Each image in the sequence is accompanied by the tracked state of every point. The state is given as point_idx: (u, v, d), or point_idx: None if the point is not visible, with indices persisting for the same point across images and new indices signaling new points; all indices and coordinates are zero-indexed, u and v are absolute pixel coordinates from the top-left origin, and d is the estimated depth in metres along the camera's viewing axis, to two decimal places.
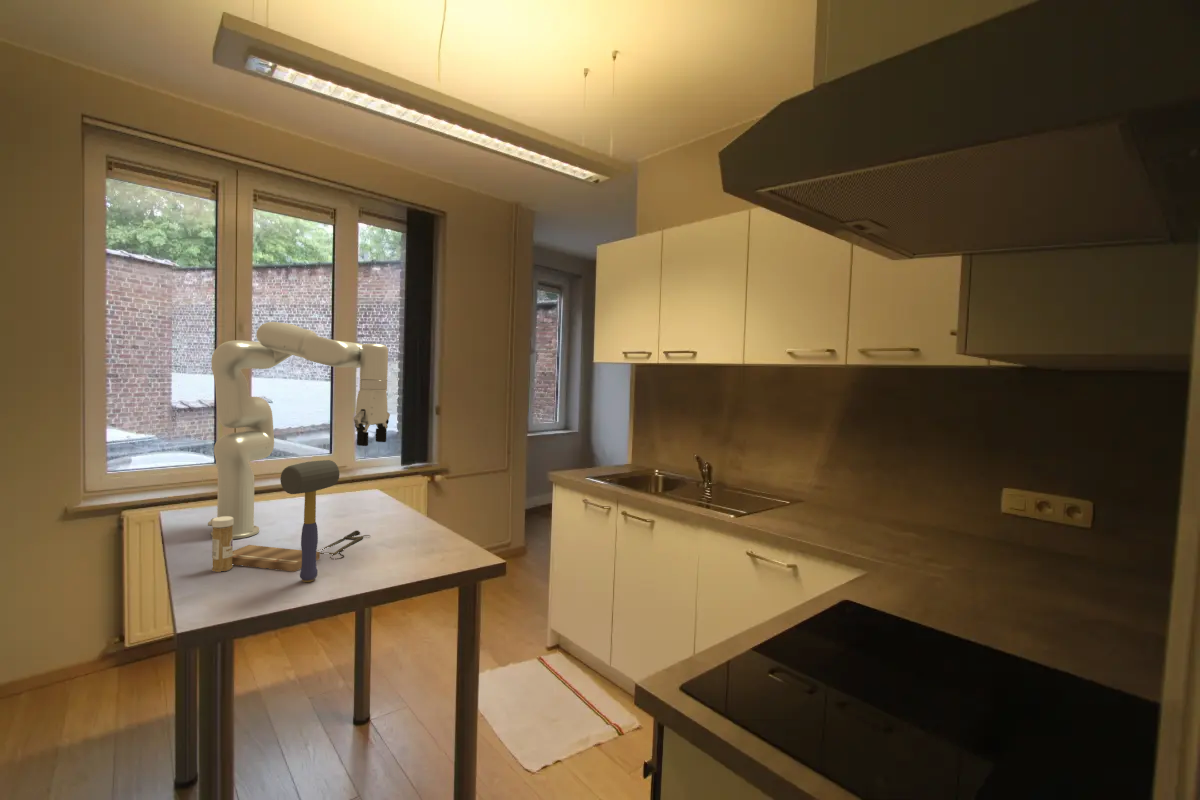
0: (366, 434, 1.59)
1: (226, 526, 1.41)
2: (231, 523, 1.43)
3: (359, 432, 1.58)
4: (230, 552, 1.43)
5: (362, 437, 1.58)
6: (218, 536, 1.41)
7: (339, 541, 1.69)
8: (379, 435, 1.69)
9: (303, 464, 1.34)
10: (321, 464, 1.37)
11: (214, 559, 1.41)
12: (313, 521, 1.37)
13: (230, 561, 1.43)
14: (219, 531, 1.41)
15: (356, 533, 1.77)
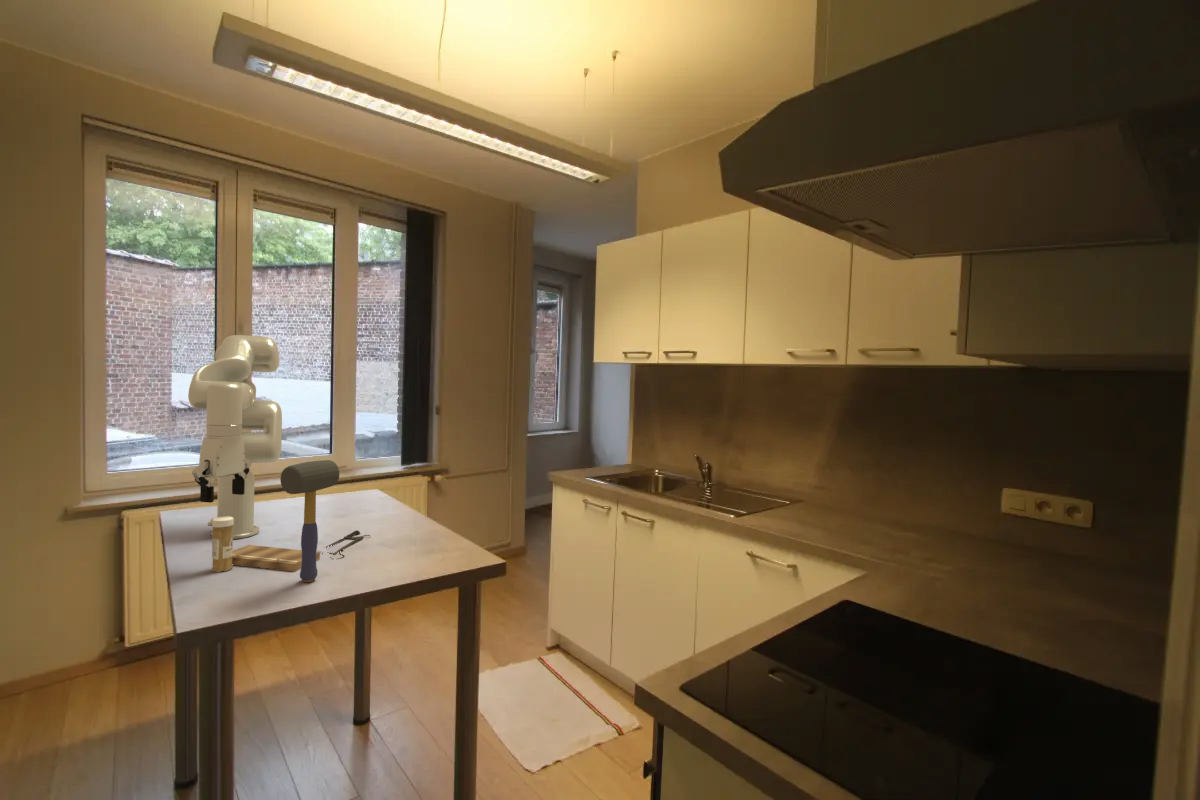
0: (211, 489, 1.37)
1: (226, 526, 1.41)
2: (231, 523, 1.43)
3: (202, 487, 1.36)
4: (230, 552, 1.43)
5: (205, 492, 1.36)
6: (218, 536, 1.41)
7: (339, 541, 1.69)
8: (236, 487, 1.47)
9: (303, 464, 1.34)
10: (321, 464, 1.37)
11: (214, 559, 1.41)
12: (313, 521, 1.37)
13: (230, 561, 1.43)
14: (219, 531, 1.41)
15: (356, 533, 1.77)
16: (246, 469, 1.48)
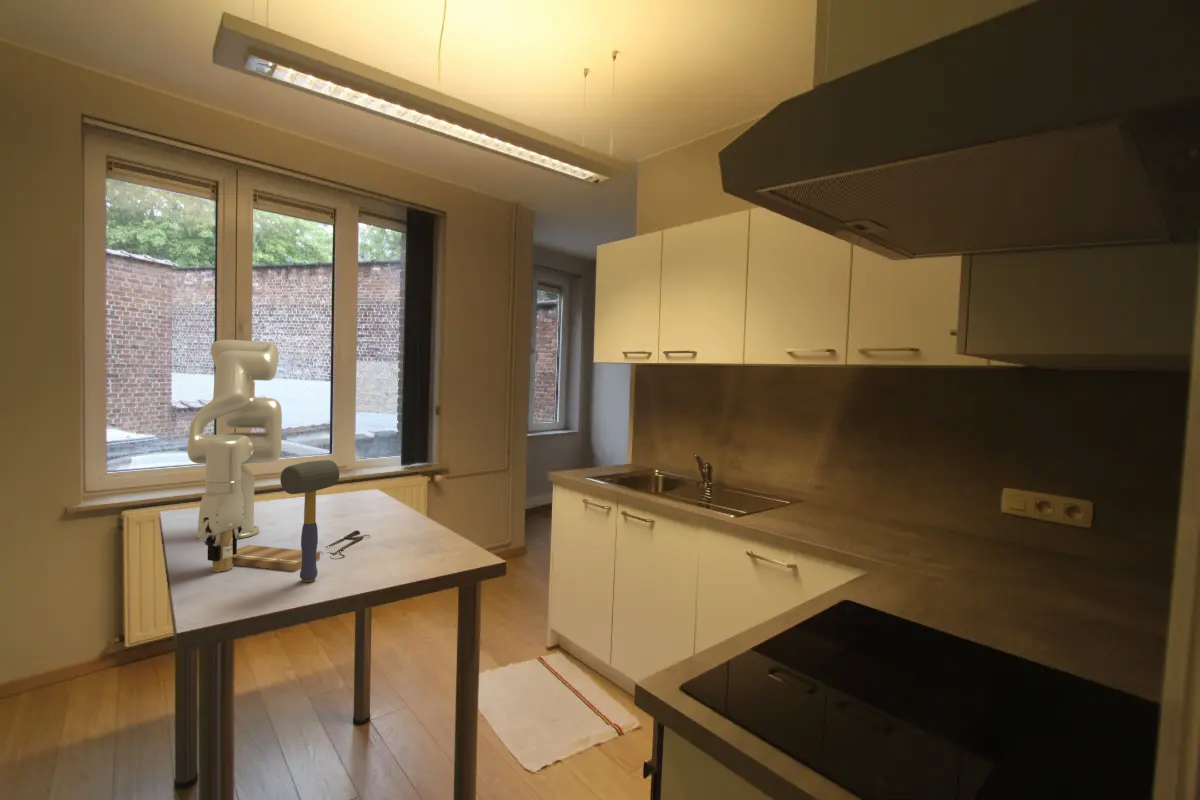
0: (218, 548, 1.40)
1: None
2: (231, 523, 1.43)
3: (209, 546, 1.40)
4: (230, 552, 1.43)
5: (212, 552, 1.40)
6: None
7: (339, 541, 1.69)
8: None
9: (303, 464, 1.34)
10: (320, 464, 1.37)
11: None
12: (313, 521, 1.37)
13: (230, 561, 1.43)
14: None
15: (356, 533, 1.77)
16: (239, 527, 1.47)
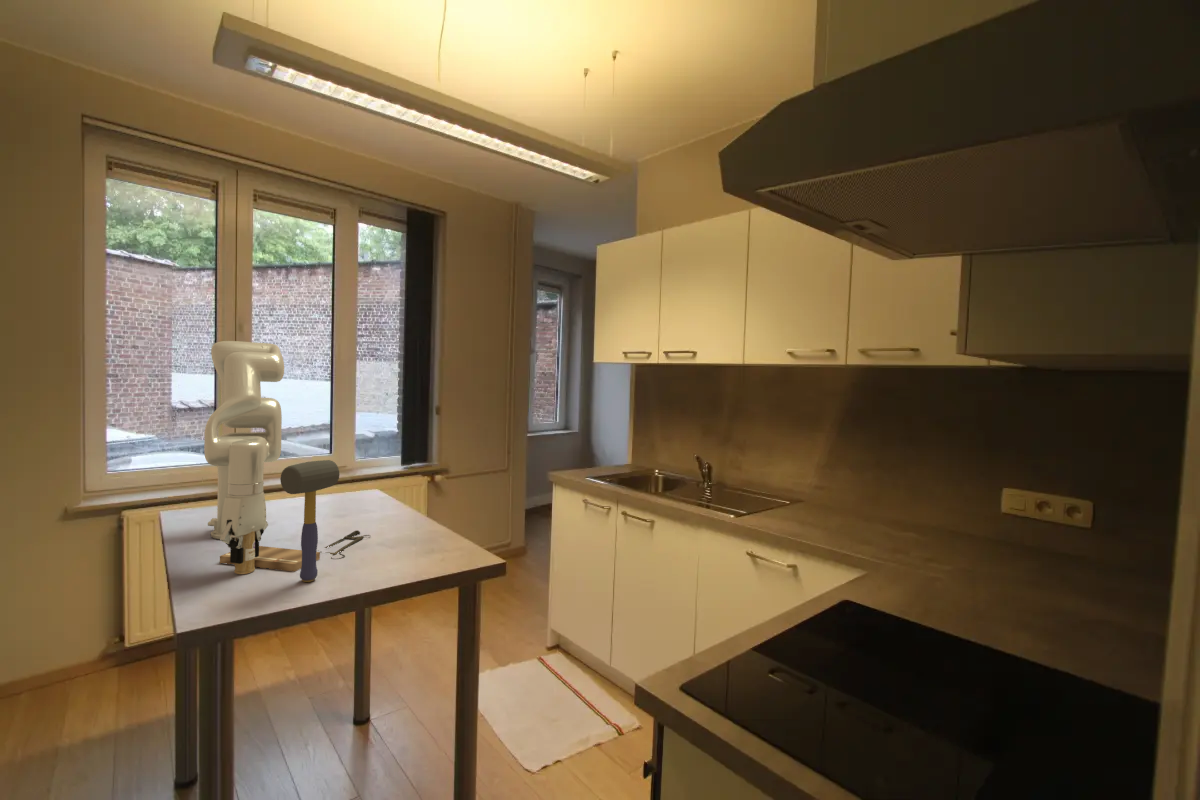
0: (241, 551, 1.39)
1: None
2: None
3: (232, 548, 1.39)
4: (252, 554, 1.42)
5: (235, 554, 1.39)
6: None
7: (339, 541, 1.69)
8: None
9: (303, 464, 1.34)
10: (321, 464, 1.37)
11: None
12: (313, 521, 1.37)
13: (252, 563, 1.42)
14: None
15: (356, 533, 1.77)
16: (261, 529, 1.46)
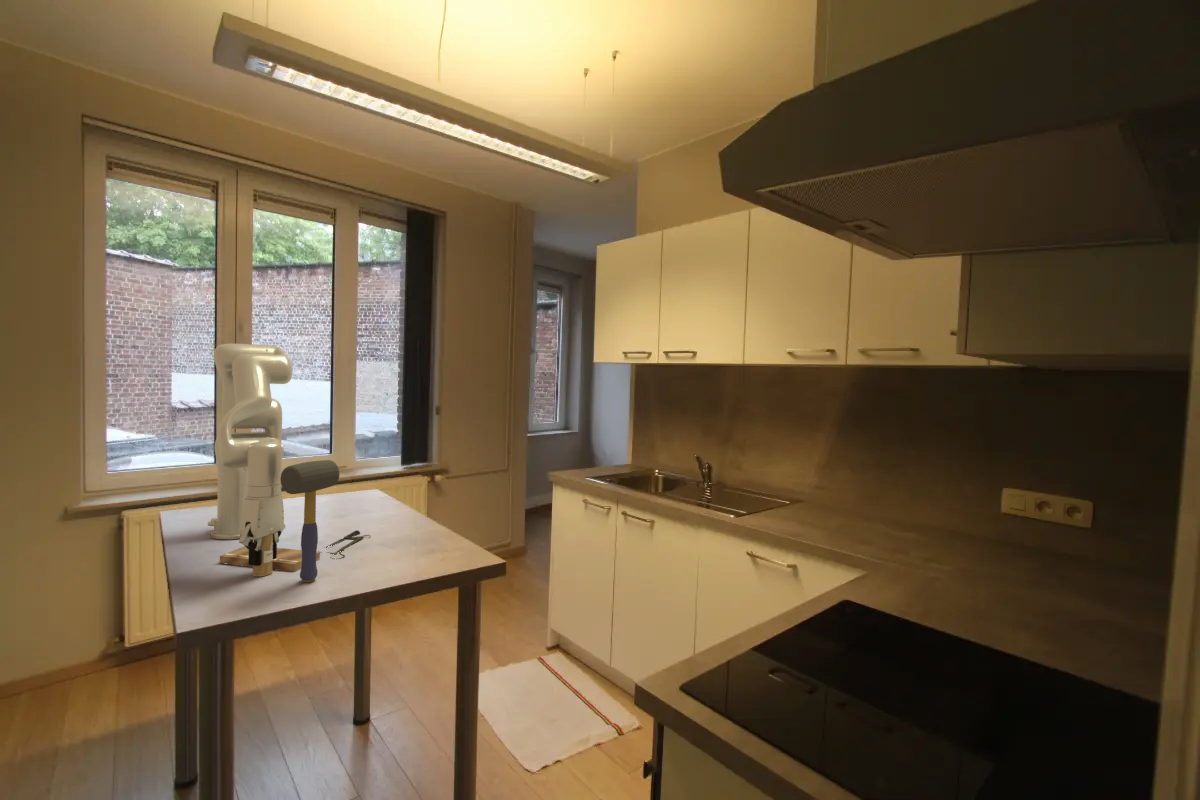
0: (259, 553, 1.38)
1: None
2: None
3: (250, 550, 1.38)
4: (271, 556, 1.41)
5: (254, 556, 1.38)
6: None
7: (339, 541, 1.69)
8: None
9: (303, 464, 1.34)
10: (320, 464, 1.37)
11: None
12: (313, 521, 1.37)
13: (270, 565, 1.42)
14: None
15: (356, 533, 1.77)
16: (278, 531, 1.46)
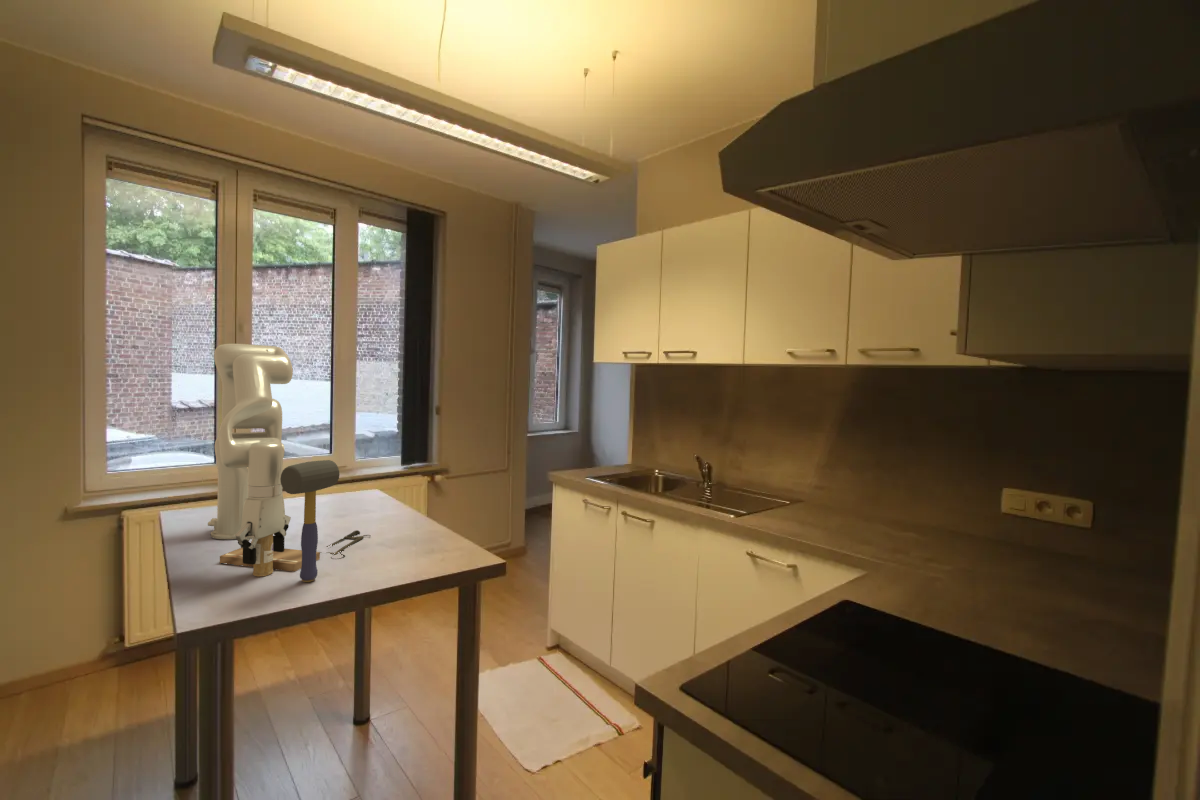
0: (253, 551, 1.36)
1: None
2: None
3: (244, 549, 1.35)
4: (271, 556, 1.41)
5: (248, 555, 1.35)
6: (259, 540, 1.39)
7: (339, 541, 1.69)
8: (276, 544, 1.46)
9: (303, 464, 1.34)
10: (320, 464, 1.37)
11: (255, 563, 1.39)
12: (313, 521, 1.37)
13: (271, 565, 1.42)
14: None
15: (356, 533, 1.77)
16: (285, 525, 1.48)
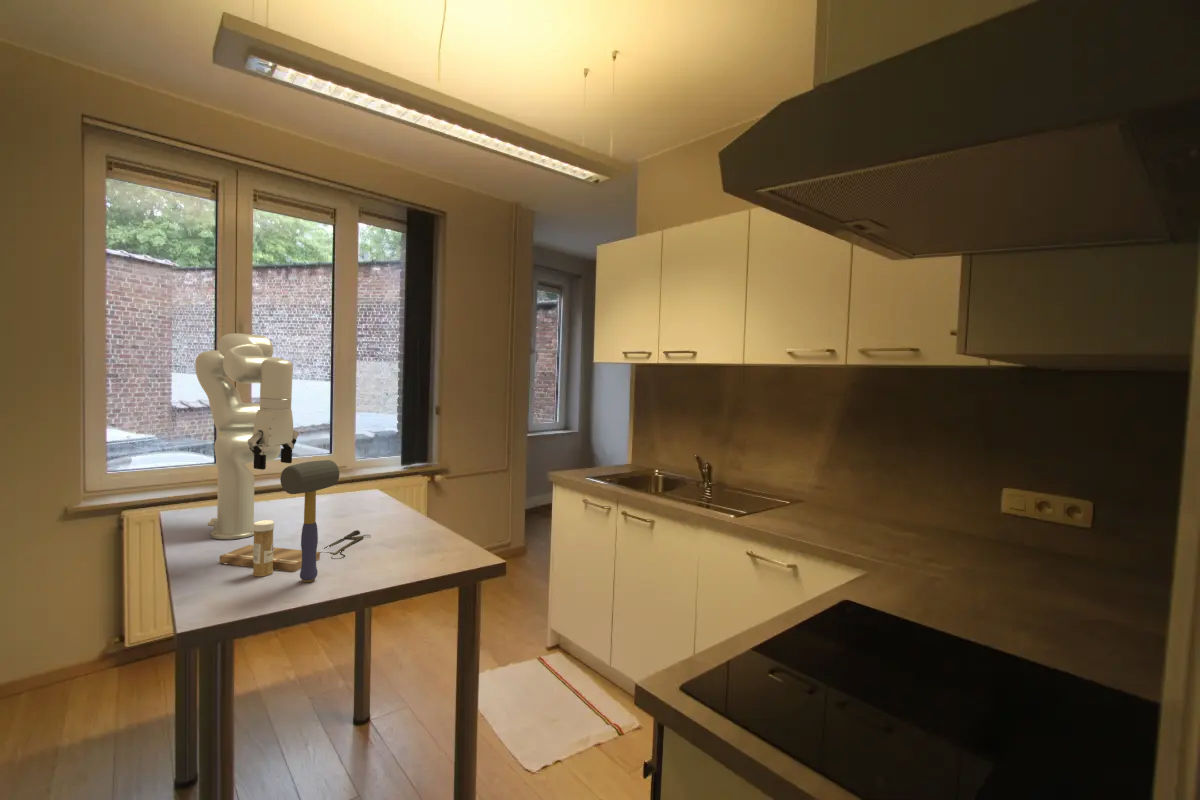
0: (263, 457, 1.48)
1: (267, 530, 1.40)
2: (272, 527, 1.41)
3: (255, 455, 1.48)
4: (271, 556, 1.41)
5: (258, 460, 1.48)
6: (259, 540, 1.39)
7: (339, 541, 1.70)
8: (284, 456, 1.58)
9: (303, 464, 1.34)
10: (320, 464, 1.37)
11: (255, 563, 1.39)
12: (313, 521, 1.37)
13: (271, 565, 1.42)
14: (260, 535, 1.39)
15: (356, 533, 1.77)
16: (293, 440, 1.60)
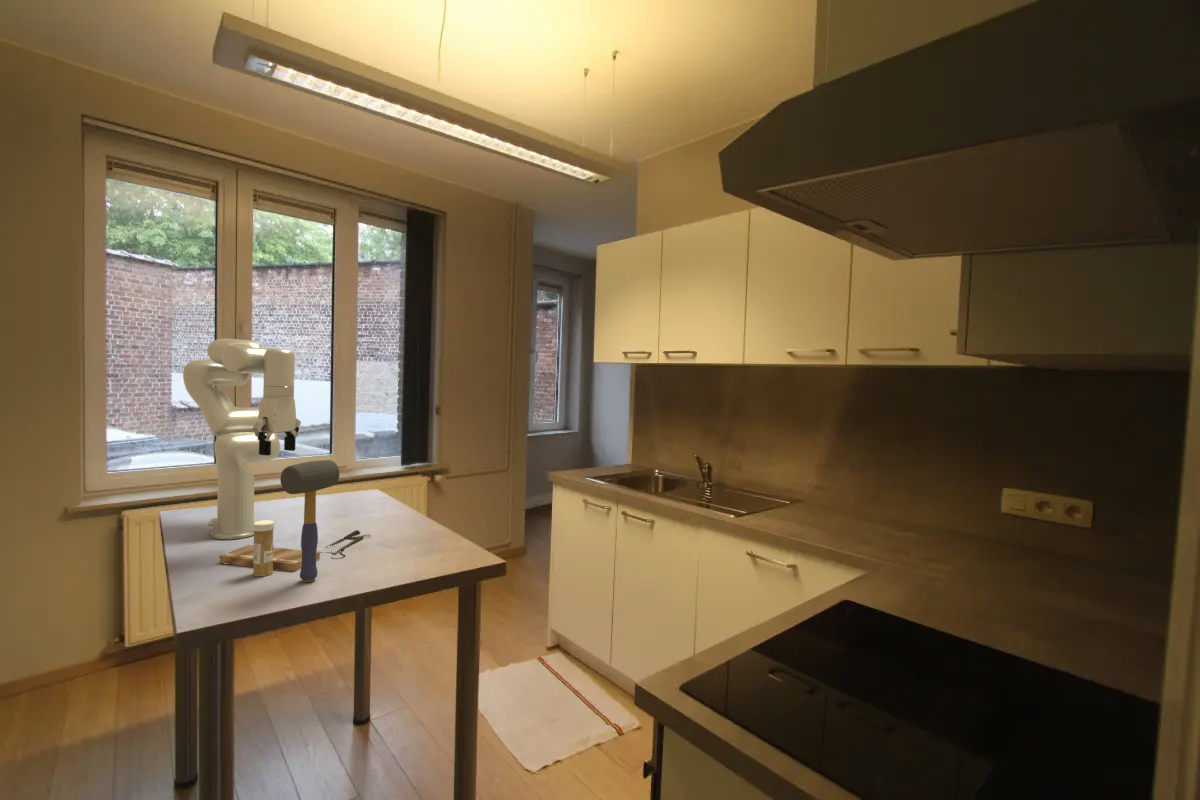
0: (268, 443, 1.53)
1: (267, 530, 1.40)
2: (272, 527, 1.41)
3: (260, 441, 1.52)
4: (271, 556, 1.41)
5: (264, 446, 1.52)
6: (259, 540, 1.39)
7: (339, 541, 1.70)
8: (288, 443, 1.62)
9: (303, 464, 1.34)
10: (320, 464, 1.37)
11: (255, 563, 1.39)
12: (313, 521, 1.37)
13: (271, 565, 1.42)
14: (260, 535, 1.39)
15: (356, 533, 1.77)
16: (296, 428, 1.64)
